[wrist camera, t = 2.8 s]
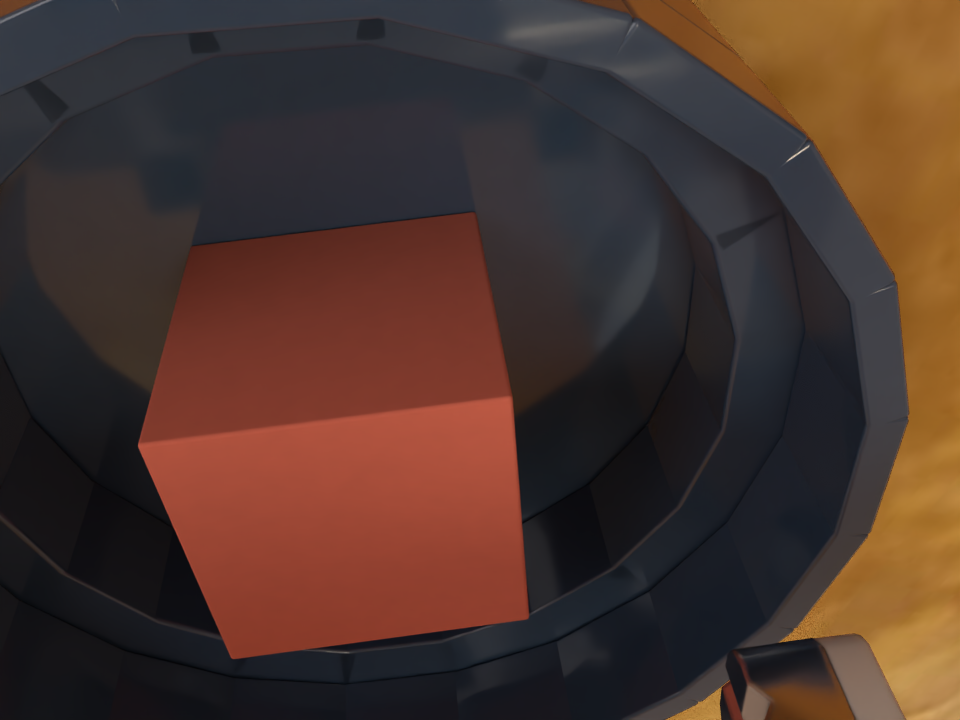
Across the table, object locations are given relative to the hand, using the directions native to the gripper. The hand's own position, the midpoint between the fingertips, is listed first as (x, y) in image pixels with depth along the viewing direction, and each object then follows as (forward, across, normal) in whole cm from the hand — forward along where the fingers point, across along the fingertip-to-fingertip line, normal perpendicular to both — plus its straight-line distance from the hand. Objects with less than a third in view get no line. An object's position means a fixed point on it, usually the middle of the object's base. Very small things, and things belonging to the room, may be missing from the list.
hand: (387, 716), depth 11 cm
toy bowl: (+8, 0, 0) cm, 8 cm away
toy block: (+7, 0, 0) cm, 7 cm away
